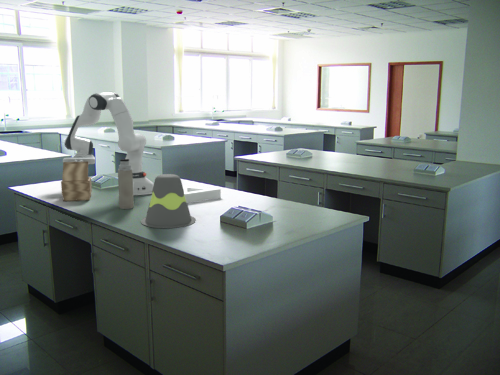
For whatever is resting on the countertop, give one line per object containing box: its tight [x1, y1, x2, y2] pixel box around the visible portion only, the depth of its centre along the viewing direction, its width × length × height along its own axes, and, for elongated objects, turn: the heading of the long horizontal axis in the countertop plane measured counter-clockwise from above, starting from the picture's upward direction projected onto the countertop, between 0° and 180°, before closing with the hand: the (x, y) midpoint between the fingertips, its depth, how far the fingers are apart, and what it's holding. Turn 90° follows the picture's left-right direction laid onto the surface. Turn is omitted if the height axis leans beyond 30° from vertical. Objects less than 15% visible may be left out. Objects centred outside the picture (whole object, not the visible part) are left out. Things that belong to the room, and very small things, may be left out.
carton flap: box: [61, 161, 89, 182], centre depth 271 cm, size 14×14×1 cm
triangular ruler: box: [182, 185, 222, 204], centre depth 283 cm, size 30×26×6 cm
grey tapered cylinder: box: [140, 173, 197, 229], centre depth 226 cm, size 28×28×24 cm
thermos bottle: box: [117, 158, 135, 210], centre depth 253 cm, size 8×8×28 cm
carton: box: [60, 176, 93, 202], centre depth 275 cm, size 16×14×12 cm
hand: (78, 162), depth 288 cm, fingers closed
